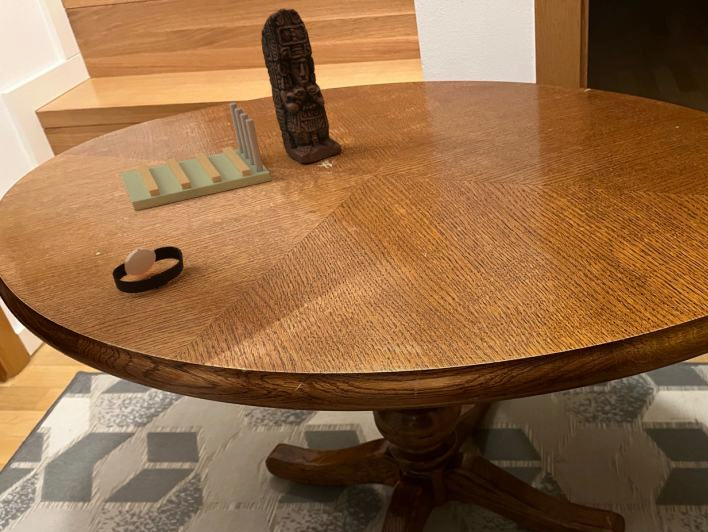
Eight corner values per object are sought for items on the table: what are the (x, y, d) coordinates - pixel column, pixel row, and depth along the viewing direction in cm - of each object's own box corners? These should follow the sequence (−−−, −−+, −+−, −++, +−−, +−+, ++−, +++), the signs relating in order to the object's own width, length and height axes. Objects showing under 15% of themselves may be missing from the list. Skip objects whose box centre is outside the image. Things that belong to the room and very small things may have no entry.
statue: (303, 166, 104) (278, 15, 93) (278, 154, 109) (250, 9, 98) (343, 153, 108) (323, 6, 97) (316, 143, 113) (294, 1, 101)
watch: (171, 260, 82) (162, 231, 79) (197, 271, 79) (188, 241, 77) (108, 290, 77) (97, 259, 75) (133, 302, 74) (123, 271, 72)
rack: (134, 210, 94) (115, 148, 89) (122, 181, 103) (103, 123, 98) (271, 180, 100) (259, 121, 96) (248, 155, 109) (237, 99, 105)
